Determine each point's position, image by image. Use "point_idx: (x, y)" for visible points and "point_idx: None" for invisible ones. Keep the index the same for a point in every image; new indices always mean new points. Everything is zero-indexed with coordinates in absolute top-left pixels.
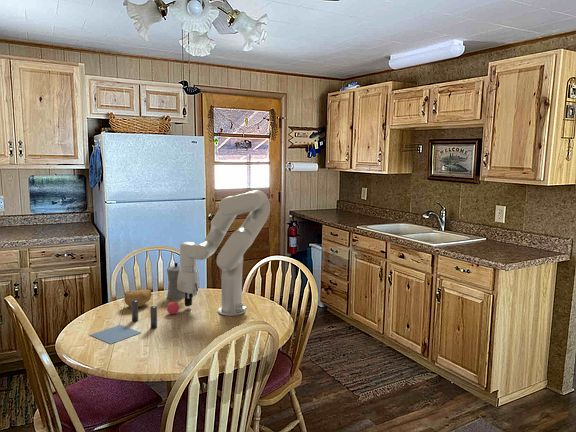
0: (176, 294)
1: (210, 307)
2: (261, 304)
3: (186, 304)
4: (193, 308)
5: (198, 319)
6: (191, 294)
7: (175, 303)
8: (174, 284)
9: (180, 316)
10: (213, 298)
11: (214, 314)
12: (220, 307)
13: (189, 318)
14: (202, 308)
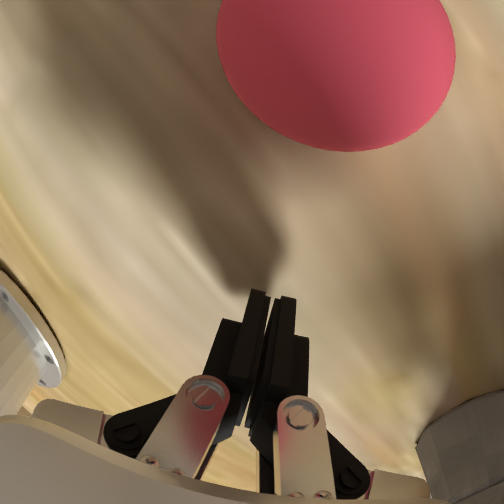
0: (469, 434)
1: (128, 363)
2: (35, 405)
3: (257, 304)
4: (221, 316)
5: (11, 100)
6: (110, 432)
7: (272, 18)
8: (496, 493)
9: (176, 34)
10: (237, 461)
11: (13, 252)
12: (44, 346)
13: (67, 59)
14: (154, 336)
